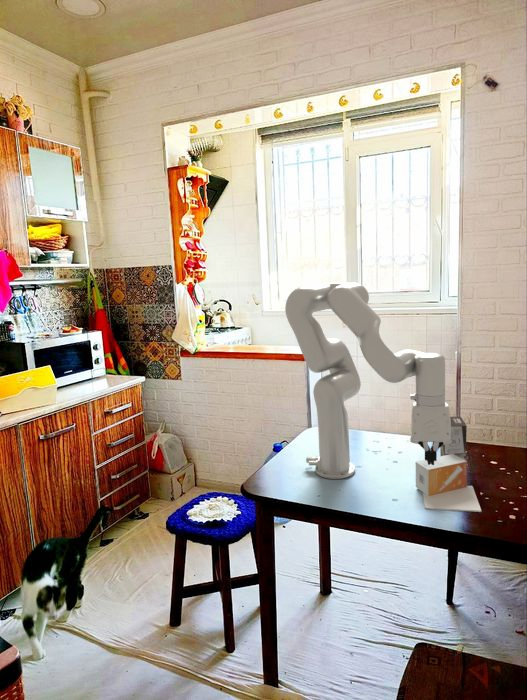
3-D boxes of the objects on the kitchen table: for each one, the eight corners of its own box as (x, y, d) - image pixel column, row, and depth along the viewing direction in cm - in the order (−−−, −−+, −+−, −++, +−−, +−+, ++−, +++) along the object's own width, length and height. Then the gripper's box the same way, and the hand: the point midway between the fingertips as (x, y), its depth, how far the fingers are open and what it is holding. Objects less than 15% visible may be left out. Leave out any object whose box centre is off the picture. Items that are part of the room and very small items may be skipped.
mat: (425, 508, 133) (425, 507, 133) (421, 484, 147) (421, 483, 146) (481, 512, 130) (481, 510, 130) (472, 487, 143) (472, 485, 143)
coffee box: (466, 477, 150) (467, 426, 146) (444, 476, 151) (444, 425, 148) (461, 464, 158) (461, 415, 155) (439, 463, 160) (439, 415, 157)
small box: (428, 470, 137) (467, 461, 141) (414, 461, 143) (453, 452, 147) (428, 497, 139) (467, 487, 142) (415, 487, 145) (452, 478, 148)
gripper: (402, 403, 132) (402, 467, 136) (462, 403, 129) (461, 469, 132) (401, 395, 139) (402, 456, 143) (458, 395, 136) (457, 458, 139)
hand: (430, 462), depth 137 cm, fingers closed
